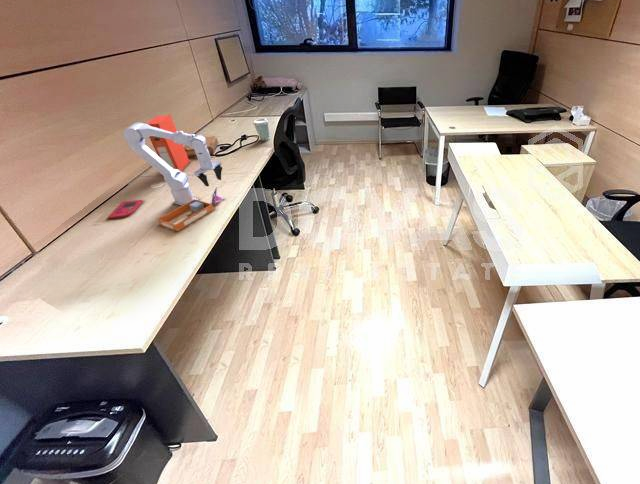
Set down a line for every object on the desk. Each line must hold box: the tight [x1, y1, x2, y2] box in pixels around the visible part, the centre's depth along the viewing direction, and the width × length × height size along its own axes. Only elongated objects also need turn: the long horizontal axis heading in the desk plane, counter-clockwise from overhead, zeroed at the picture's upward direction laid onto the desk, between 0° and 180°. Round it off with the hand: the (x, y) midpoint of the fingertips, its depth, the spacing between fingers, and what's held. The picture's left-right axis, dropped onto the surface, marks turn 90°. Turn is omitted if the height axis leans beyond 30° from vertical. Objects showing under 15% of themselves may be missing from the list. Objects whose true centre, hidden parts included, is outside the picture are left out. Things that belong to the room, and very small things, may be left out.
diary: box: [183, 135, 219, 158], centre depth 229 cm, size 23×19×6 cm
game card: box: [211, 186, 224, 207], centre depth 169 cm, size 7×5×9 cm
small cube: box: [189, 201, 205, 213], centre depth 161 cm, size 5×4×4 cm
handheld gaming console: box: [107, 199, 143, 220], centre depth 164 cm, size 10×1×15 cm
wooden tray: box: [157, 199, 215, 232], centre depth 157 cm, size 13×20×4 cm, turn 156°
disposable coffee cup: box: [253, 118, 270, 141], centre depth 244 cm, size 11×11×15 cm
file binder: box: [145, 114, 190, 172], centre depth 197 cm, size 8×17×32 cm, turn 12°
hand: (213, 182), depth 168 cm, fingers open, 7 cm apart
